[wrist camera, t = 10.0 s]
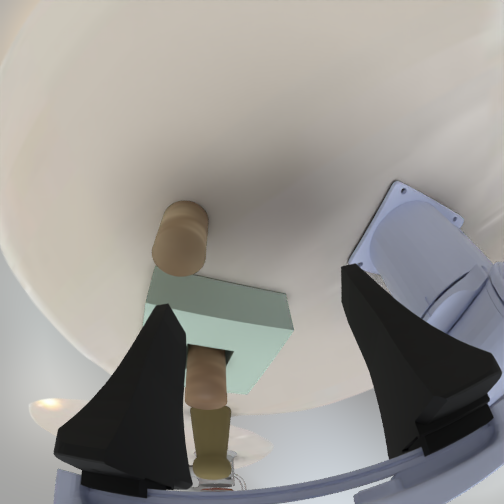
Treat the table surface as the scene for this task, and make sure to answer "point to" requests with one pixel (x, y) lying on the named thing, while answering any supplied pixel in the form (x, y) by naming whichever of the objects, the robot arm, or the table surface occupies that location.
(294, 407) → the table surface
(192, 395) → the long pin
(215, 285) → the collar block
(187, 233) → the short pin
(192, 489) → the donut
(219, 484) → the french press
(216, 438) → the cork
